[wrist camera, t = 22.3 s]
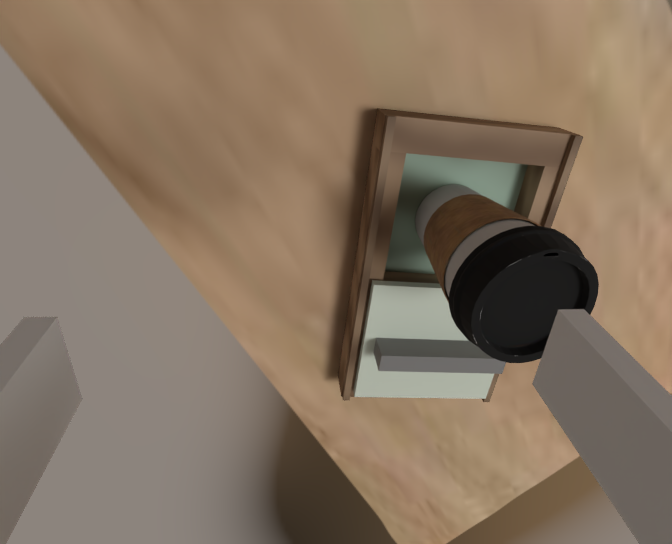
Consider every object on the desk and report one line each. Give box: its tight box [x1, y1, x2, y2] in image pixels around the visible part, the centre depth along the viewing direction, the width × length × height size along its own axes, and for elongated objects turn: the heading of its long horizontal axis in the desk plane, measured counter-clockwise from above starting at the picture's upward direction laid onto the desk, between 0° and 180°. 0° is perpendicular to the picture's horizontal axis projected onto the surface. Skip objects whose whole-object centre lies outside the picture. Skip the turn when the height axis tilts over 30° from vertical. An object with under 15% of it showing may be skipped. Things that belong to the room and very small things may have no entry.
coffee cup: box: [415, 184, 599, 363], centre depth 32 cm, size 8×8×15 cm
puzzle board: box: [338, 109, 583, 402], centre depth 40 cm, size 26×15×4 cm, turn 174°
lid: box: [353, 280, 506, 399], centre depth 40 cm, size 12×13×3 cm
